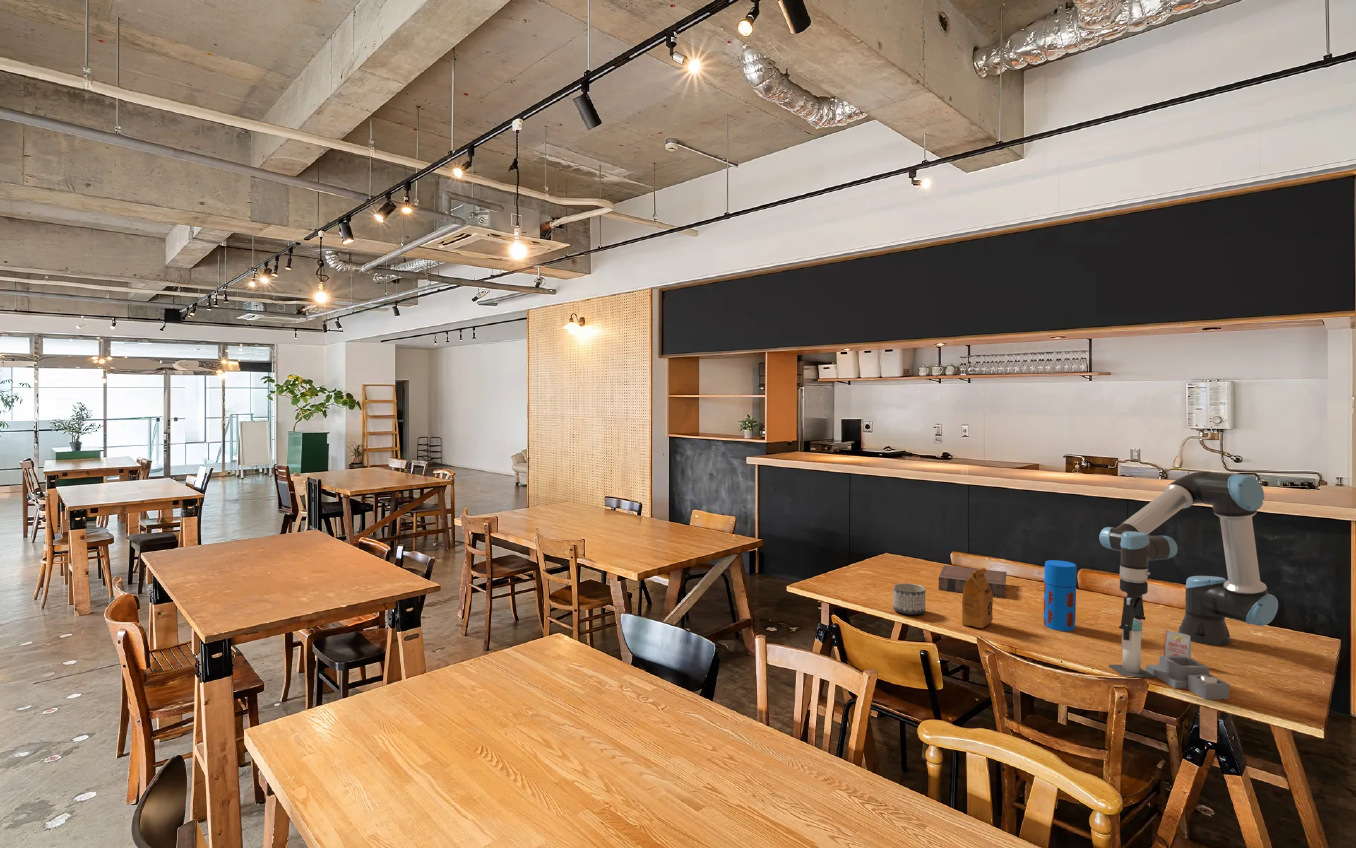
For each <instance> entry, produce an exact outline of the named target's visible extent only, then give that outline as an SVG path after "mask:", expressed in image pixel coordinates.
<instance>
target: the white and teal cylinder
mask: <svg viewBox="0 0 1356 848" xmlns="http://www.w3.org/2000/svg"><path fill="white" fill-rule="evenodd" d="M1125 626H1128V625H1125ZM1132 630H1133V639H1132V651H1129V650H1125V649H1122V665H1123V670H1124V671H1126V672H1130V673H1140V668H1141V663H1142V662H1141V660H1142V658H1141V657H1142V654H1141V653H1142V640H1141V631H1142V632H1143V622H1142V623H1141V622H1139V621H1135V620H1133V625H1132Z"/></svg>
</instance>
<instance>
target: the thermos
mask: <svg viewBox="0 0 1356 848" xmlns="http://www.w3.org/2000/svg"><path fill="white" fill-rule="evenodd" d="M1077 570H1078V568H1077V564H1076V563H1074V562H1070V561H1066V560H1065V561H1064V560H1058V559H1056V560H1055V559H1052V560H1051V559H1050V560H1046V561H1045V563H1044V578H1043V579H1044V582H1043V583H1044V584H1043V589H1044V590H1043V625H1044V626H1045V627H1046V628H1048V629H1051V630H1055V631H1061V632H1072V631H1074V630H1075V627H1076V617H1077V616H1076V615H1077V614H1076V611H1077V610H1076V609H1077V608H1076V607H1077V572H1078V571H1077Z"/></svg>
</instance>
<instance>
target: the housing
mask: <svg viewBox="0 0 1356 848" xmlns="http://www.w3.org/2000/svg"><path fill="white" fill-rule="evenodd" d="M1158 662H1159V663H1158V664H1146V665H1145V671H1147V672H1149V673H1150V674H1152V675H1154V676H1155V678H1157V679H1159V680H1161V681H1162V682H1164V683H1165V684H1167V685H1169V686H1170V687H1172V688H1174V689H1187V690H1188V691H1190V692H1192V693H1193V694H1194V695H1195V694H1196V695H1197V696H1199V697H1201V698H1202V699H1203V700H1221V699H1229V700H1230V691H1231V689H1230V686H1231V685H1230V684H1229V683H1227V682H1225V681H1223V680H1221V679H1219V678H1218V677H1217V683H1206V682H1204V681H1202V680H1201V679H1200V675H1201V674H1209V675H1210V666H1208V665H1205V664H1204V663H1201V662H1199V661H1197V660H1196V659H1194V658H1192V657H1191V658H1190V657H1188V656H1164V655H1159V661H1158Z"/></svg>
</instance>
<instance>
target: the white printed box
mask: <svg viewBox="0 0 1356 848" xmlns="http://www.w3.org/2000/svg"><path fill="white" fill-rule="evenodd" d="M1163 656H1188V657H1190V658H1192V641H1191V638H1190V635H1186V634H1182V633H1179V632H1177V631H1172V630H1167V629H1166V630H1165V634H1164V641H1163Z"/></svg>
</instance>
